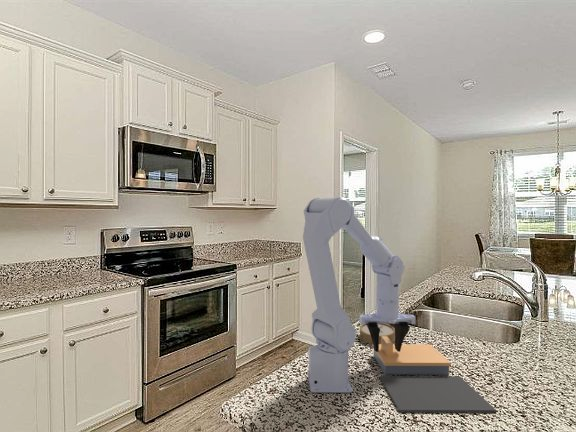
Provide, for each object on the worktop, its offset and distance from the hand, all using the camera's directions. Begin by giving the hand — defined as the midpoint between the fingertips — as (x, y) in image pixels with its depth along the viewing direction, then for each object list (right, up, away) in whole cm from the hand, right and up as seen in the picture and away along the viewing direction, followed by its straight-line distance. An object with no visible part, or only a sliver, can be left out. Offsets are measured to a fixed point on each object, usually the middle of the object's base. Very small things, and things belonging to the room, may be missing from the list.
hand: (386, 350), depth 89 cm
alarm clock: (+4, -4, +20) cm, 21 cm away
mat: (+6, -4, -14) cm, 16 cm away
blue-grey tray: (+6, -4, 0) cm, 7 cm away
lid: (+6, -2, 0) cm, 6 cm away
